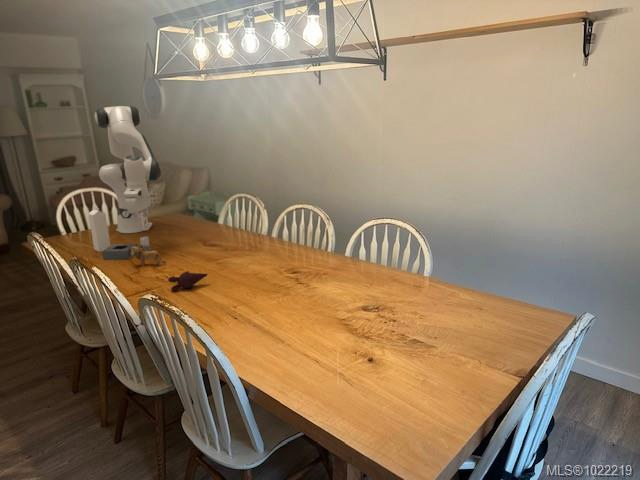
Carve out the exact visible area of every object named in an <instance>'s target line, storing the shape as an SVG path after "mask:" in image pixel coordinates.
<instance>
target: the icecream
mask: <svg viewBox="0 0 640 480" xmlns="http://www.w3.org/2000/svg"><path fill="white" fill-rule="evenodd" d="M207 276H208V273H195V272H190V271H188V270H187V271H184V272H183V273H181V274H179V276H175V275H173V276H170V277H169V278H168V282H169V283H177V284H176V285H175V284H174V285H173V286H171V289H170V290H171V292H177V291H178V290H180V289H181V288H183V289H191V287H194V285H196V284H198V282H200V281H201V280H203V279H204V278H205V277H207Z"/></svg>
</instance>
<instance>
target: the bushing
mask: <svg viewBox="0 0 640 480" xmlns="http://www.w3.org/2000/svg"><path fill="white" fill-rule="evenodd" d="M139 243H140V248H142V249H144V250H145V251H151V245H150V240H149V236H145V235H143V236H140V237H139Z"/></svg>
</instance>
